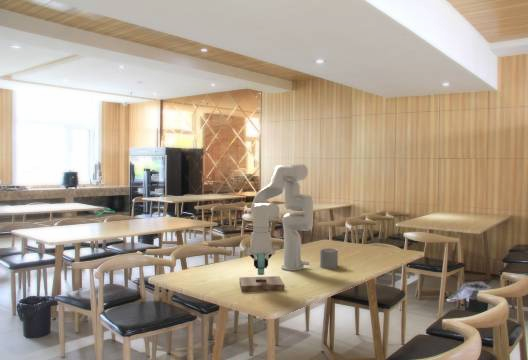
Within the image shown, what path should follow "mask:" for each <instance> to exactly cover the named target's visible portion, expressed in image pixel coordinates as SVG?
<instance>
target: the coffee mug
mask: <svg viewBox="0 0 528 360" xmlns="http://www.w3.org/2000/svg"><path fill="white" fill-rule="evenodd" d="M338 252H339V250H338V248H332V247H331V248H330V247H329V248H328V247H326V248H320V250H319V253H320V254H319V256H320V257H319V260H320V261H319V263H320V264H319V267H320V268H322V269H325V270H327V269H328V270H333V269H338V267H339V265H338V263H339V262H338V260H339V256H338V254H339V253H338Z"/></svg>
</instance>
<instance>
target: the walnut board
mask: <svg viewBox="0 0 528 360" xmlns="http://www.w3.org/2000/svg"><path fill="white" fill-rule="evenodd" d="M239 286H240V291H241V293H259V292H260V293H261V292H262V293H263V292H284V291H285V283H284V281H283V280H282V279H281V276H279V275H277V276H242V277H241V276H240V277H239Z"/></svg>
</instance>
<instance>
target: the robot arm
mask: <svg viewBox="0 0 528 360" xmlns="http://www.w3.org/2000/svg"><path fill="white" fill-rule="evenodd" d="M308 174H309V170H308V167H307V165H305V164H301V163H299V164H295V163H292V164H291V163H286V164H280V165H276V166H275V167H274V169H273V171H272V174H271V176H270V179H269V181H268V184H267V186H265V187H263V188H262V189H261V190H259V191H258V192H257V193H256V194H255V196H254V198H253V201H252V203H251V206H250V214H251V216H252V217H253V218H252V220H253V221H252V222H253V223H252V225H253V227H252V232H251V234H250V244H249V248H248V250H247V251H246V255H247V256H249V257H250V258H252V260H253V267H254V268H255V269H257V254H260V253H263V254H265V269H267V268H268V266H269V259H271V257H272V256H274V255H276V251H275V250H274V249H273V246H272V235H271V231H272V230H273V228H272V227H271V226H270V221H269V219H275V218H278V216H279V215H280V207H279V205H278V204H276V203H273V202H266V201H267V200H270V199H273V198H275V197H278V196H280V195H281V194H283V193H284V207H285V209H286V211H287V210H288V211H289V212H290V211H292V212H290V213H284V215H283V217H282V221H281V222H282V223H281V224H282V228H283V265H281V269H282V270H284V271H291V272H292V271H293V272H294V271H302V270H304V266H310V261H306V260H305V261H303V260H302V240H301V235H300V233H299V232H298V231H305V232H306V231H307V232H308V231H312V229H313V227H314V201H313V197H312V196H311V195H309V194H301V193H300V192H301V190H300V187H301V186H300V183H299V182H298V181H303V180H305V179H306V178H307V177H308V176H309V175H308ZM295 212H296V213H295ZM298 212H303V213H298Z"/></svg>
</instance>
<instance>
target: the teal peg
mask: <svg viewBox="0 0 528 360" xmlns="http://www.w3.org/2000/svg"><path fill="white" fill-rule="evenodd" d="M265 258H266V257H265V254H263V253H260V254H257V257H256V259H257V268H256V269H257V275H258V276H263V275H265V269H266V268H265Z"/></svg>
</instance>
